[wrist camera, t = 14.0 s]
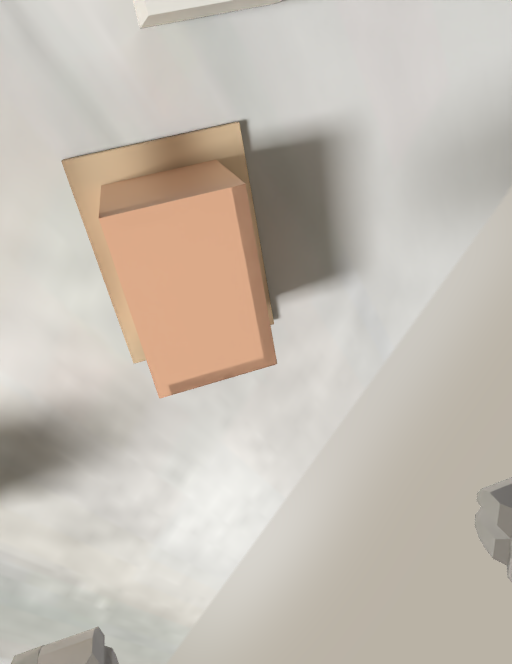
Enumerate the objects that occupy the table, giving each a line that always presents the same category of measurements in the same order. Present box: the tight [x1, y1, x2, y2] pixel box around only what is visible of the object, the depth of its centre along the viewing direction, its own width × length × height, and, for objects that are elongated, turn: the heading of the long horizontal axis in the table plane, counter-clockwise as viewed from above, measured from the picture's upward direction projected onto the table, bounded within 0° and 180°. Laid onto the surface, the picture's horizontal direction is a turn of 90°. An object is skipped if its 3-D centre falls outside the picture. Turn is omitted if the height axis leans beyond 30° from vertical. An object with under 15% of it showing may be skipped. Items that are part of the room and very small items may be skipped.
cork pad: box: [62, 122, 274, 363], centre depth 27 cm, size 9×12×1 cm
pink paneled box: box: [99, 160, 277, 398], centre depth 24 cm, size 6×9×6 cm, turn 10°
